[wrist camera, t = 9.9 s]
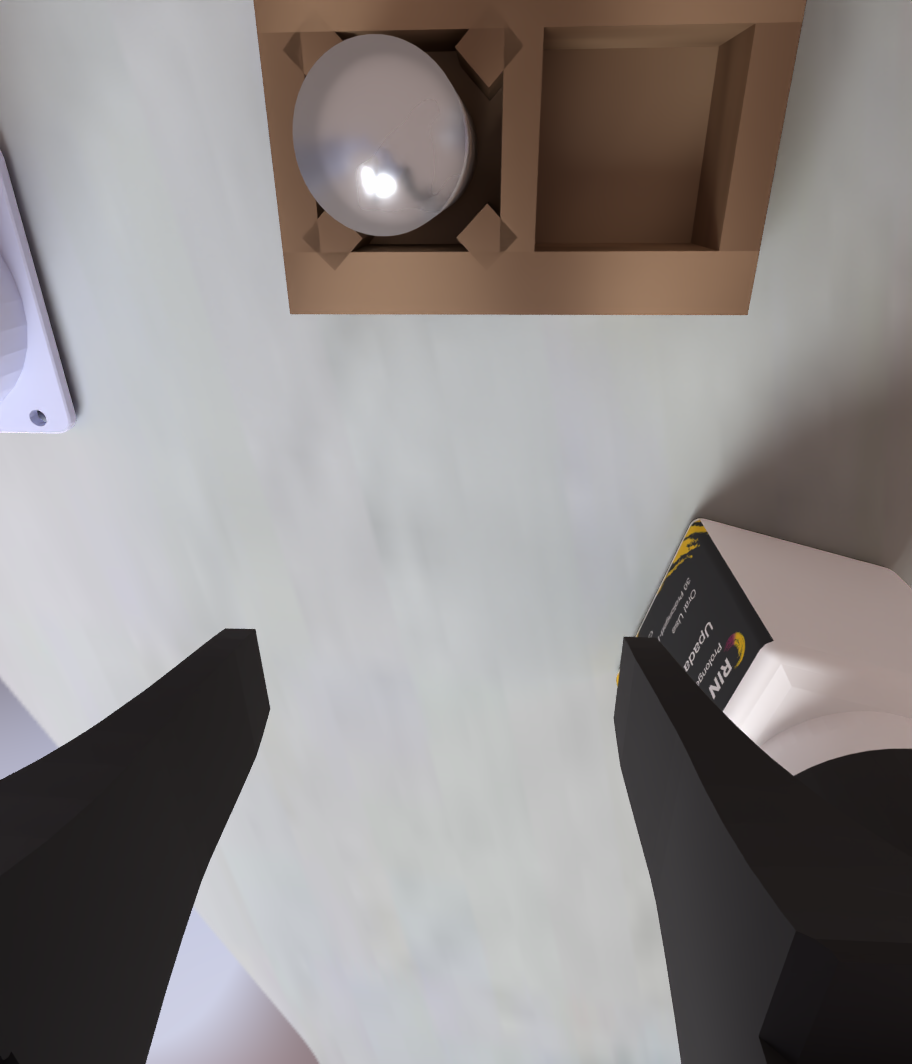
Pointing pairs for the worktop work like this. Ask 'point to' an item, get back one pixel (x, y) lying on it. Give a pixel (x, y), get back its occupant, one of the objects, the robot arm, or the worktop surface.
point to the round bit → (382, 136)
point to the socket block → (556, 155)
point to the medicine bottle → (800, 662)
